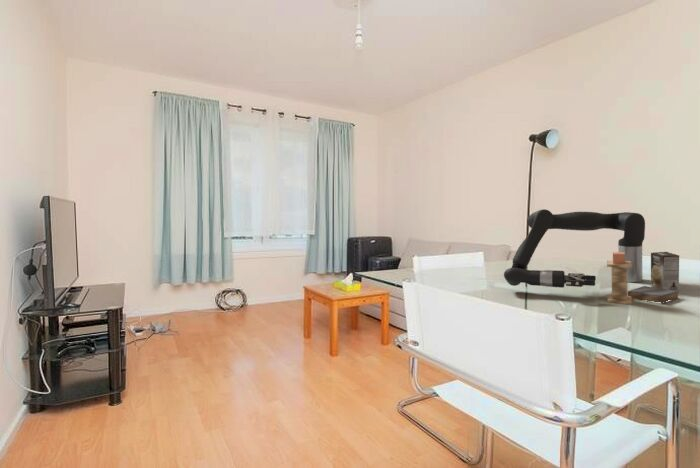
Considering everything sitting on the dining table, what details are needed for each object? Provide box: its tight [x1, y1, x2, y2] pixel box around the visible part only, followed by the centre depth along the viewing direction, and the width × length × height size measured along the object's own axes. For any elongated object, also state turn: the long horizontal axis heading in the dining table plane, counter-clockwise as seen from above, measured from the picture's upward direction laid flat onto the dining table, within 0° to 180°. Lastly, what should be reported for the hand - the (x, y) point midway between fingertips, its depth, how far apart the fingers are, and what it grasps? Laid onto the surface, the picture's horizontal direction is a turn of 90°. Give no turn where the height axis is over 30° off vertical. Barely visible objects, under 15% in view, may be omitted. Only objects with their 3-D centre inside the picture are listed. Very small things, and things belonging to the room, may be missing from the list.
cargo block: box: [612, 251, 625, 264], centre depth 150 cm, size 4×4×4 cm
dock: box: [627, 285, 679, 303], centre depth 151 cm, size 12×12×3 cm
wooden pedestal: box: [606, 260, 633, 305], centre depth 151 cm, size 8×8×16 cm
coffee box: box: [650, 251, 680, 293], centre depth 160 cm, size 9×6×16 cm
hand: (595, 280), depth 155 cm, fingers open, 8 cm apart
